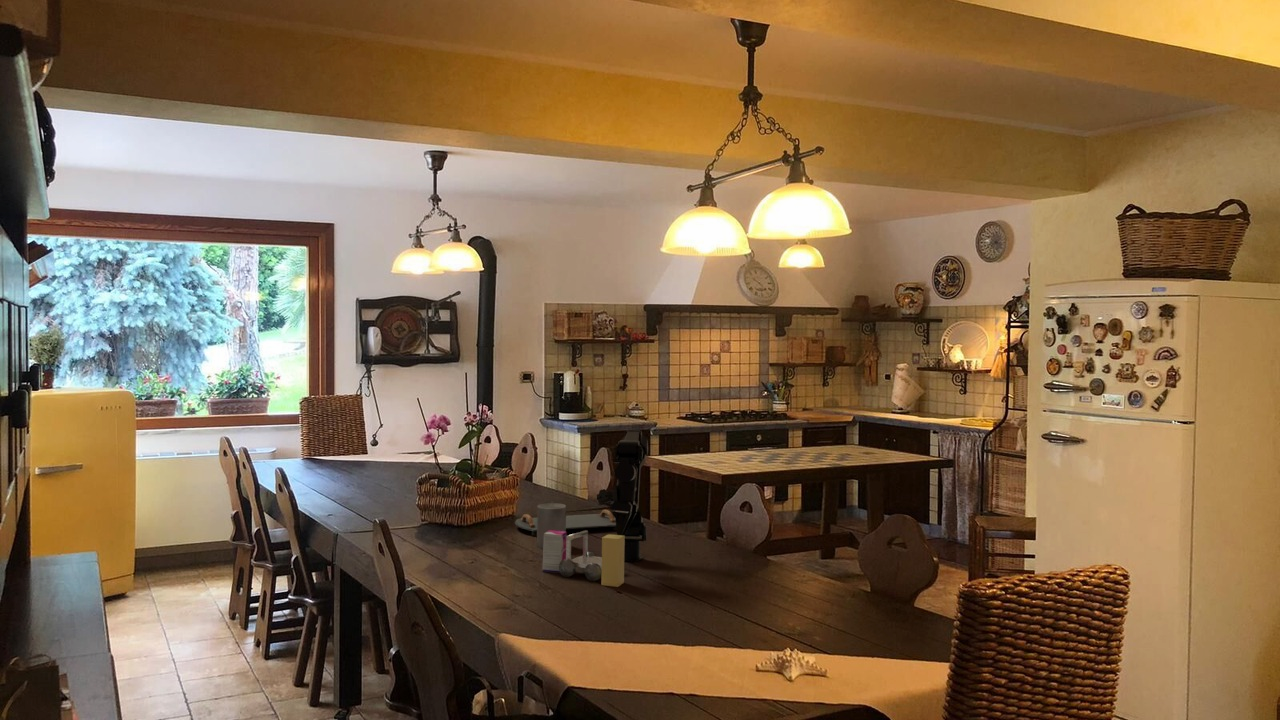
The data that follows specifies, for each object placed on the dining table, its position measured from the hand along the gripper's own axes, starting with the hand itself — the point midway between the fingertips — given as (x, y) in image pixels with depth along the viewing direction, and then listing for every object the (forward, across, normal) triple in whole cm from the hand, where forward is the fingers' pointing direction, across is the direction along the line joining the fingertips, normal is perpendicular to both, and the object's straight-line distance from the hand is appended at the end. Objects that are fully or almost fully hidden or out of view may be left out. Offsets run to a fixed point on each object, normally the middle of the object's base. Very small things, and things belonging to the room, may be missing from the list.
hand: (621, 535), depth 284 cm
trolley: (+12, +1, -8) cm, 14 cm away
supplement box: (+13, -2, -19) cm, 23 cm away
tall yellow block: (+13, +10, 0) cm, 17 cm away
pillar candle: (+8, -35, -27) cm, 45 cm away
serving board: (+2, -66, -28) cm, 72 cm away
